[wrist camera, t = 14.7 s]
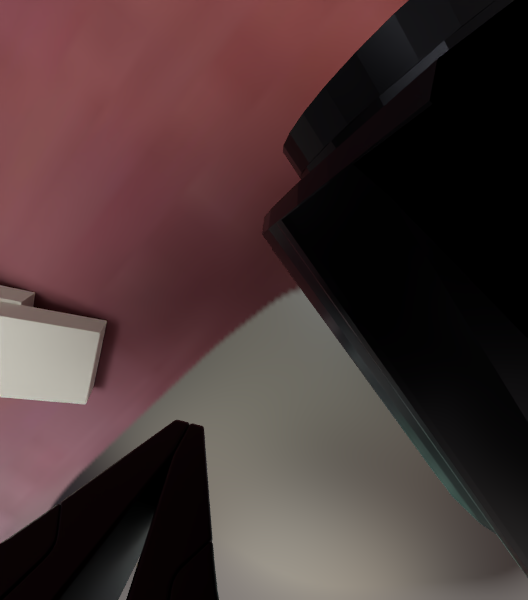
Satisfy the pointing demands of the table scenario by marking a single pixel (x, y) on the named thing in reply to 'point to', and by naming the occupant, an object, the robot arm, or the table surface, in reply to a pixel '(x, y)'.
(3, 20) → the table surface
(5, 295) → the domino
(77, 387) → the domino
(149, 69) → the table surface
